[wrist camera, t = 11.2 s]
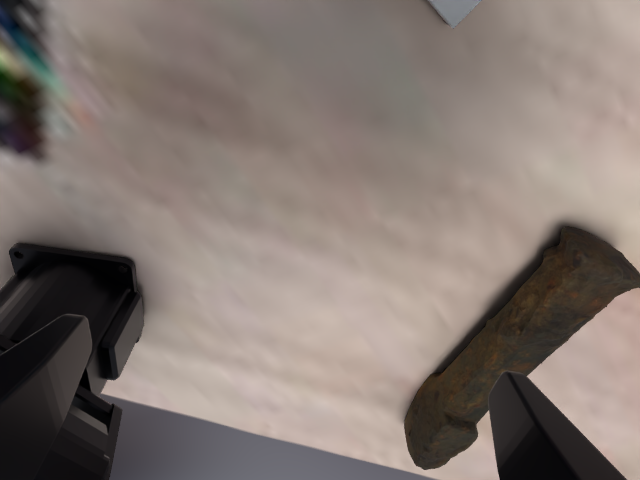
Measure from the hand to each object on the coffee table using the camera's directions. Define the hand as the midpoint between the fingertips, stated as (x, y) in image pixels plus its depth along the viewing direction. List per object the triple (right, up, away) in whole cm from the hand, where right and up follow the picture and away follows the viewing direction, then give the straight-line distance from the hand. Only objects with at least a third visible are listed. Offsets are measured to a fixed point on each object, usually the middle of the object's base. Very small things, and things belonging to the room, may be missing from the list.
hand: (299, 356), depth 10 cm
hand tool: (+11, -4, +19) cm, 22 cm away
